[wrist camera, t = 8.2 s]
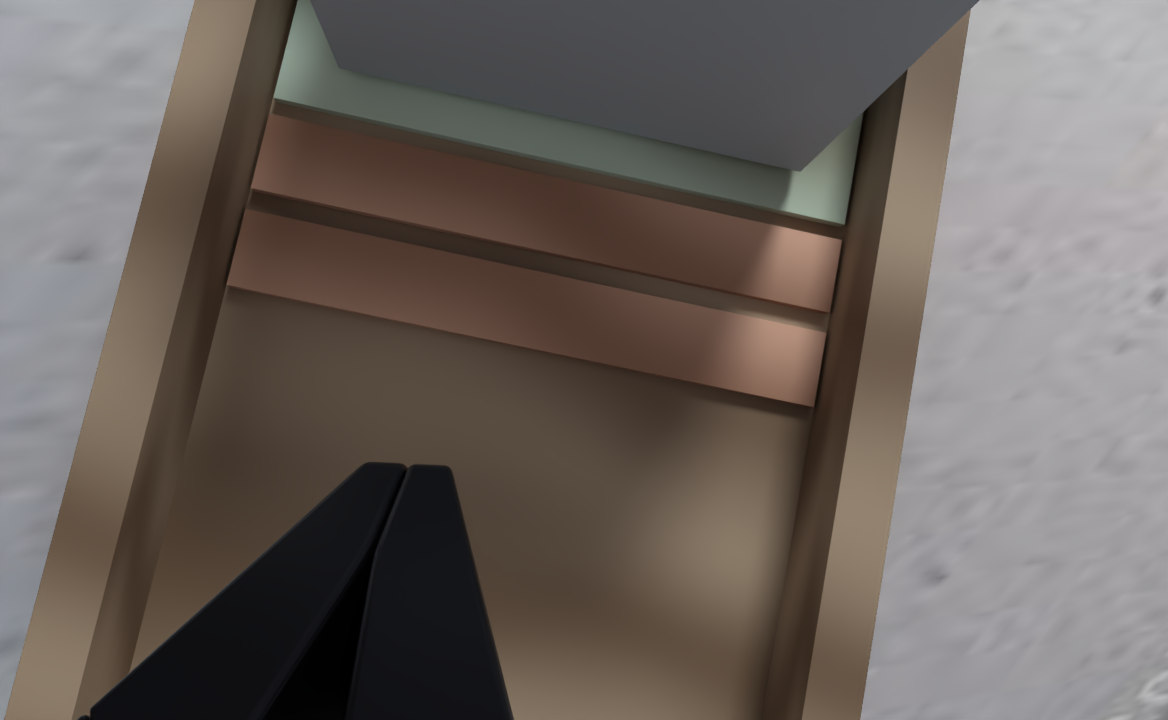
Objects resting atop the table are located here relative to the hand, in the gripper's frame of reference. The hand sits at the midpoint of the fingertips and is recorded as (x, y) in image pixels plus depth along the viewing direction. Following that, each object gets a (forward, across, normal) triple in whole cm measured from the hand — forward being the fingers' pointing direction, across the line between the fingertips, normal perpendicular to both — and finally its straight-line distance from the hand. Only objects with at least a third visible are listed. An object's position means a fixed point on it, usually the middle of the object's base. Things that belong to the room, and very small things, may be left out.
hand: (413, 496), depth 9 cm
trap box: (+12, 0, +5) cm, 13 cm away
